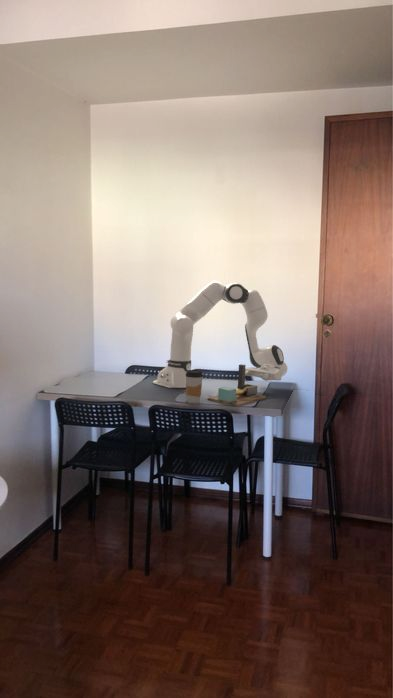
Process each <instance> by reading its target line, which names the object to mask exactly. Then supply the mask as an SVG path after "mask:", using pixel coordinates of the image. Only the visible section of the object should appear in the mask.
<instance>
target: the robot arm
mask: <svg viewBox="0 0 393 698" xmlns="http://www.w3.org/2000/svg"><path fill="white" fill-rule="evenodd" d="M222 300H223V301H225V302H226V303H229V304H232V305H236V304H241V305H242V307H243V309H244V311H245V314H246V323H245V325H244V329H245V330H244V331H245V334H246V335H245V336H246V341H247V347H248V351H249V352H248V353H249V360H250V361H249V362H250V364H251V365H252V366H253V367H251V366H249V367H245V376H248V377H255V378H259V379H261V380H263V381H265V382H268V381H277V382H279V381H282V377H284V376H285V375H286V374H287V372H288V365H287V364H286V362H285V361H284V360H285V358H284V352H283V351H282V349H281V348H280V347H279V346H278V345H275V344H273V345H269V346H266V347H263V348H259V345H258V339H257V332H258V330H259V328H261V327H263V325H264V324H265V323H266V321H267V320H268V317H269V315H268V311H267V307H266V304H265V303H264V300H263V298H262V295H260V293H259V291H258V290H255V289H250V290H248V289H246V288H245V287H244V286H243V285H242V284H240V283H239V282H232V283H228V284H226V285H223V284H222V283H221V282H219V281H217V280H213V281H211V282H209V283H208V284H207V285H205V286H204V287H203V288H201V290H199V292H198V293H196V295H195V296H194V297H192V299H191V300H190V301H189V302H188V303H186V304H185V305H184V306H183V307H182V308H180V310H178V311H177V313H176V314H174V315H173V316H172V318H171V319H170V328H171V329H172V331H171V333H172V334H171V343H170V358H169V359H167V360H166V363H167V366H165V367H164V368H162V370H160V371H159V372H158V374H157V379H155V380H153V381H152V384H155V385H158V386H161V387H166V388H168V389H169V388H170V389H171V388H173V389H174V388H175V389H176V388H179V389H183V388H185V389H186V373H187V371H188V370H192V360H191V356H192V342H193V336H194V335H193V334H194V333H193V332H194V325H195V324H196V323H198V322H199V321H200V320H201V319H203V318H204V317H205V316H206V315H207V314H208V313H209V312H210V311H211V310H212V309H213V308H214V307H215V306H216V305H217V304H218V303H219V302H220V301H222Z"/></svg>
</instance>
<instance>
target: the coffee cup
mask: <svg viewBox="0 0 393 698" xmlns="http://www.w3.org/2000/svg"><path fill="white" fill-rule="evenodd" d="M203 376H204V374H203V371H202V370H198V369H197V370H196V369H191V370H188V371H187V373H186V388H185V395H186V398H185V399H186V403H188V404H199V403H200V401H201V396H202V395H201V394H202V388H203V387H202V386H203Z"/></svg>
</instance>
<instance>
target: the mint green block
mask: <svg viewBox="0 0 393 698" xmlns="http://www.w3.org/2000/svg"><path fill="white" fill-rule="evenodd" d="M236 389H237V388H233V387H228V386H222V387H219V388H218V394H217V396H218V400H223V401H228V402H232V401H235V400H236Z"/></svg>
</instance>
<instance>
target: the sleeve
mask: <svg viewBox="0 0 393 698" xmlns="http://www.w3.org/2000/svg"><path fill="white" fill-rule="evenodd" d="M249 386H251V387H249ZM245 387H248V388H247V392H246V393H245V394H241V395H240V396H245V397H249V396H253V395H258V385H255V384H249V383H245V386H244V388H245ZM236 389H238V385H237V388H236Z"/></svg>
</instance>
